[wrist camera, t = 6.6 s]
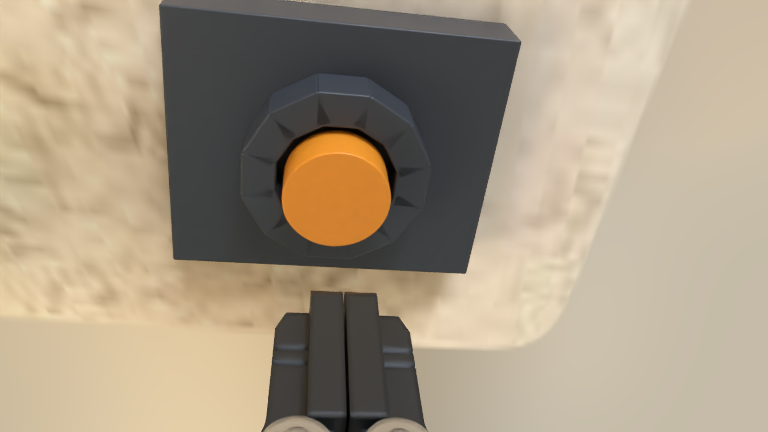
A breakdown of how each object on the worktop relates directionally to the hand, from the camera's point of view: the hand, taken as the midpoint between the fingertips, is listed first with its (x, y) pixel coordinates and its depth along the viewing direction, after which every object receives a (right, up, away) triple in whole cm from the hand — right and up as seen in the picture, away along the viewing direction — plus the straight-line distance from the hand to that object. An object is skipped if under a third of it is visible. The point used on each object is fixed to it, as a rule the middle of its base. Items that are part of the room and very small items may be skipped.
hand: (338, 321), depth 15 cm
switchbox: (-1, +6, +11) cm, 12 cm away
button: (-1, +4, +8) cm, 9 cm away
